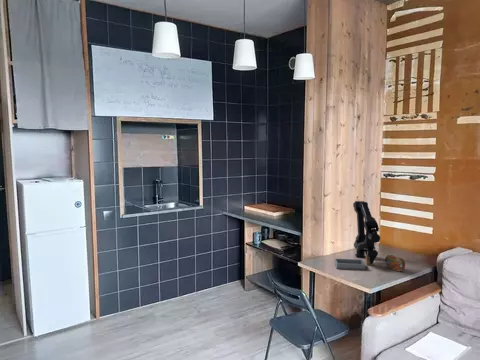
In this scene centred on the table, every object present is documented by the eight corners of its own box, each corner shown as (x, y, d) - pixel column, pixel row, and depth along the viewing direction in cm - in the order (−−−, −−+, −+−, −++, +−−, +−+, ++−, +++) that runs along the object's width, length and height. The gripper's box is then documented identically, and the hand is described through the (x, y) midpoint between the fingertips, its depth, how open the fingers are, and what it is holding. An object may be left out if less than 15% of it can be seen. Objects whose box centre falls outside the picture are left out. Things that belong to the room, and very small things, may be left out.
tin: (384, 266, 242) (384, 253, 241) (388, 265, 243) (388, 252, 242) (402, 273, 228) (402, 259, 227) (405, 272, 229) (406, 259, 228)
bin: (334, 263, 246) (334, 258, 245) (361, 264, 244) (361, 259, 243) (336, 268, 235) (336, 263, 235) (365, 270, 233) (365, 264, 233)
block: (365, 263, 247) (365, 254, 247) (371, 263, 247) (371, 254, 246) (366, 265, 243) (367, 256, 243) (373, 265, 243) (373, 256, 242)
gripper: (354, 235, 254) (354, 257, 255) (360, 242, 235) (359, 266, 236) (371, 235, 252) (370, 258, 254) (378, 242, 234) (377, 266, 235)
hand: (369, 262), depth 245 cm, fingers open, 9 cm apart
